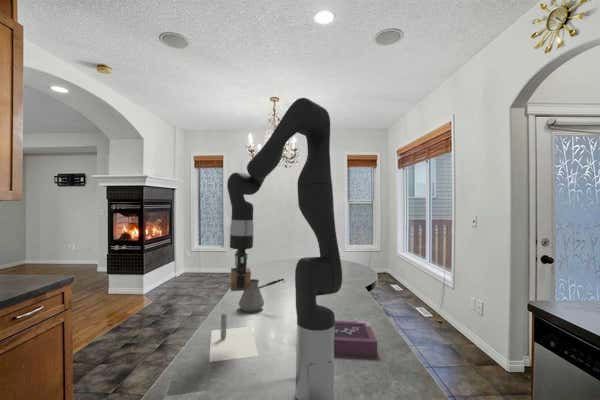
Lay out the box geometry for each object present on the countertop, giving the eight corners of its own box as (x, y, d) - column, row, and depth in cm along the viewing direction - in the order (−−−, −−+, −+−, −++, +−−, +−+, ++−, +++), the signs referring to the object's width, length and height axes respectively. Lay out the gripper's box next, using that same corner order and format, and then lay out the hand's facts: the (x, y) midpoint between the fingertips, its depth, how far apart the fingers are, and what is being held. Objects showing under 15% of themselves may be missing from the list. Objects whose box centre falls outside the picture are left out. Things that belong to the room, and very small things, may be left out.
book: (368, 335, 104) (368, 321, 104) (377, 358, 88) (377, 341, 88) (299, 332, 106) (300, 318, 106) (296, 353, 90) (296, 337, 90)
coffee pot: (233, 312, 124) (234, 277, 125) (245, 304, 135) (246, 272, 136) (279, 317, 119) (280, 281, 119) (287, 308, 130) (288, 275, 130)
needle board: (258, 361, 84) (259, 327, 84) (209, 367, 80) (210, 331, 80) (250, 330, 105) (251, 303, 105) (211, 334, 101) (212, 306, 101)
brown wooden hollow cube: (250, 290, 91) (250, 271, 91) (230, 291, 89) (231, 272, 89) (248, 285, 96) (249, 267, 97) (230, 286, 95) (231, 268, 95)
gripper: (255, 235, 87) (253, 290, 87) (251, 231, 101) (249, 279, 101) (230, 235, 85) (228, 291, 85) (229, 231, 99) (227, 279, 99)
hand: (240, 284), depth 93 cm, fingers closed on brown wooden hollow cube, 6 cm apart
